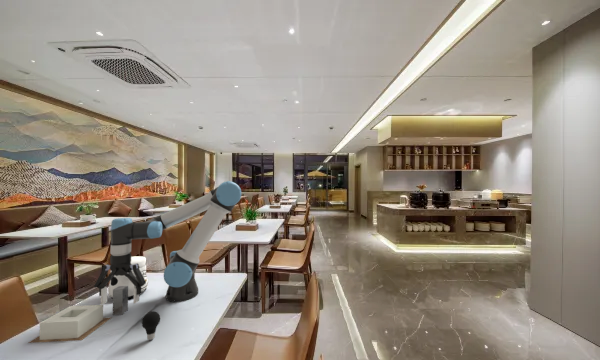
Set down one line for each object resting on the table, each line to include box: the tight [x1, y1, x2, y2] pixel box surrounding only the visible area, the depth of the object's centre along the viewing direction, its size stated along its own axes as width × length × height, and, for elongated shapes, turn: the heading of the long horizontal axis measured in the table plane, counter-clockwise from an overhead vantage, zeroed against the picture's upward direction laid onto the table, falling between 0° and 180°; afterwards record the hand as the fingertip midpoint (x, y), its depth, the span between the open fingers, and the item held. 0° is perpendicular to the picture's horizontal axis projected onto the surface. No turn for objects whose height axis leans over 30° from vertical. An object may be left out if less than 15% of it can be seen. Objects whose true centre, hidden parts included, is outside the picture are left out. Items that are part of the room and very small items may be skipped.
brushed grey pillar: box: [112, 286, 129, 316], centre depth 111 cm, size 4×4×12 cm
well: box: [39, 304, 104, 340], centre depth 98 cm, size 13×13×6 cm
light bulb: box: [141, 310, 161, 341], centre depth 92 cm, size 6×6×10 cm
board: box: [27, 317, 113, 344], centre depth 98 cm, size 18×16×1 cm
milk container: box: [107, 255, 149, 299], centre depth 133 cm, size 17×17×18 cm
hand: (120, 302), depth 111 cm, fingers open, 13 cm apart
